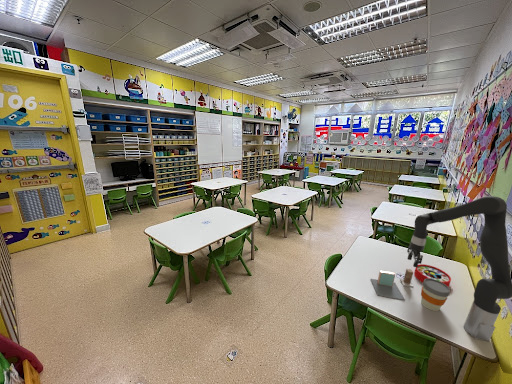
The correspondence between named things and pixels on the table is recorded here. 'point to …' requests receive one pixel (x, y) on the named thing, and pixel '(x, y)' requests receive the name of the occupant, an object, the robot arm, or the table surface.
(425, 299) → the reusable coffee cup
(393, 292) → the mat
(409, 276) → the scraper
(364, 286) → the table surface
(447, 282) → the toy clock
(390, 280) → the tile
